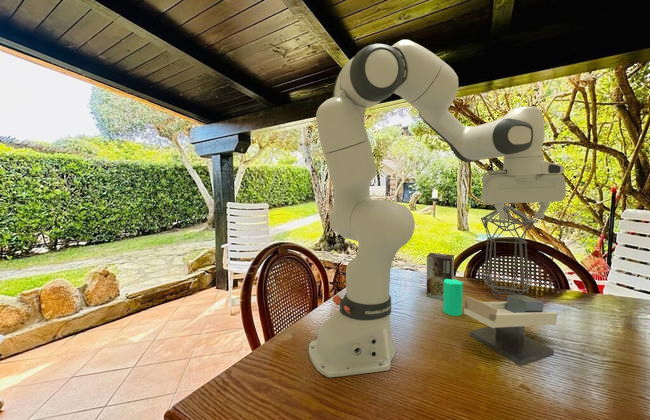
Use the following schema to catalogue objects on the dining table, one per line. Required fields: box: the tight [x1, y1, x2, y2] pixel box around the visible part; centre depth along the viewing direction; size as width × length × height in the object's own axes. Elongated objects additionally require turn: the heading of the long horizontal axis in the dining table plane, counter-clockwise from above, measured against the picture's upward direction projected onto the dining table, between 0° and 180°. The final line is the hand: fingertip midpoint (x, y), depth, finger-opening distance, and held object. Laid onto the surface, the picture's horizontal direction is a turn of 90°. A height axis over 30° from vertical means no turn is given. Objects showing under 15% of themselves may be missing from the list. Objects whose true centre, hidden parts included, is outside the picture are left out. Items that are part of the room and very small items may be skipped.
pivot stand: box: [469, 325, 555, 367], centre depth 71 cm, size 12×14×6 cm
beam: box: [463, 296, 559, 328], centre depth 70 cm, size 24×8×4 cm, turn 110°
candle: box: [442, 276, 464, 317], centre depth 90 cm, size 6×6×12 cm
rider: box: [505, 294, 545, 313], centre depth 72 cm, size 7×5×4 cm
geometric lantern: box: [480, 205, 538, 300], centre depth 102 cm, size 16×16×35 cm
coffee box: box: [426, 252, 455, 300], centre depth 103 cm, size 9×6×16 cm
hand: (521, 218), depth 75 cm, fingers open, 8 cm apart
